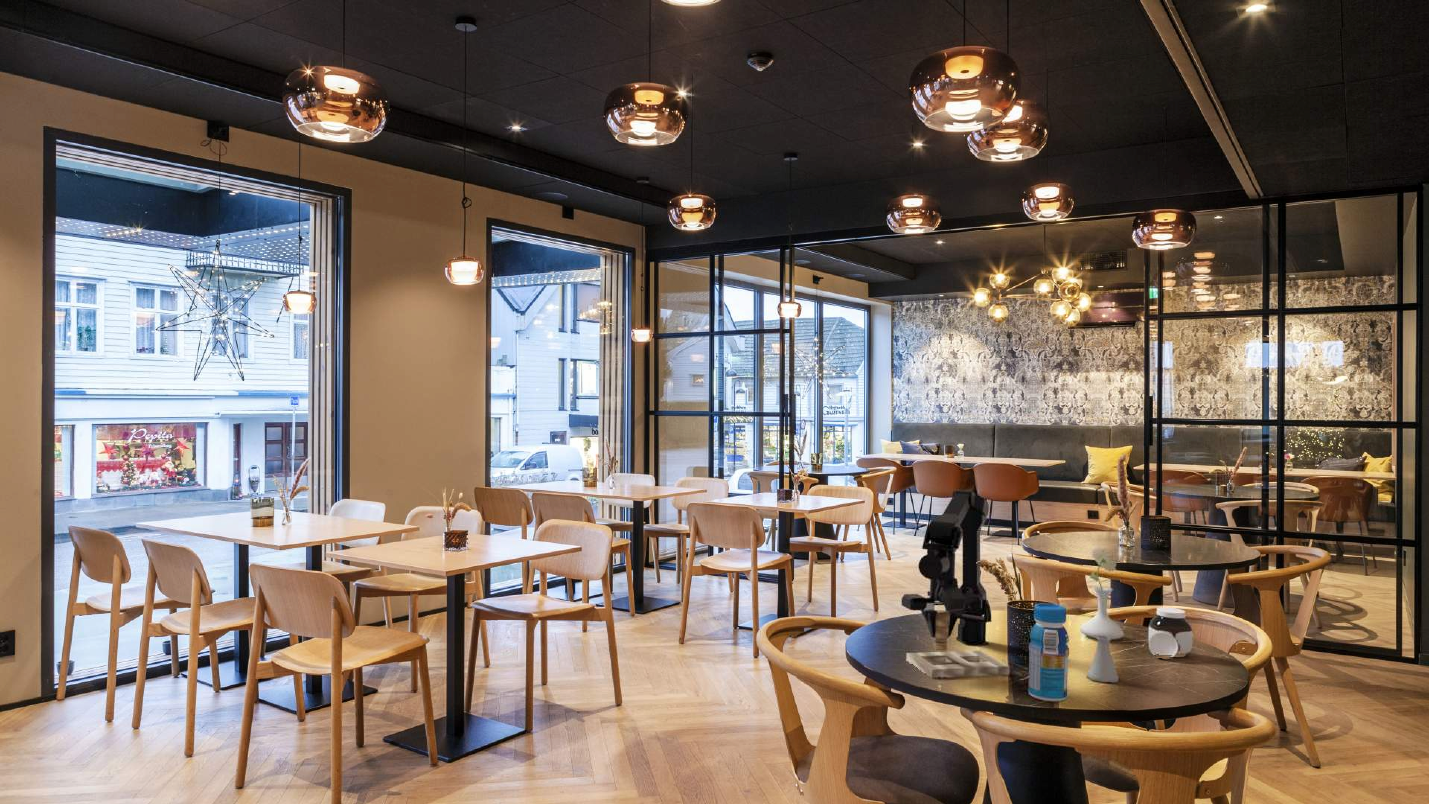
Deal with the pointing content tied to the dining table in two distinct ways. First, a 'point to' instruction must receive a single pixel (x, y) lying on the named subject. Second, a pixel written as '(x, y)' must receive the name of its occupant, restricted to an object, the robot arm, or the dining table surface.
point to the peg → (941, 630)
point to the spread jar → (1170, 632)
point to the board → (957, 664)
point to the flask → (1103, 663)
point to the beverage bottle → (1048, 653)
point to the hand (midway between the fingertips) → (940, 636)
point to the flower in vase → (1102, 602)
